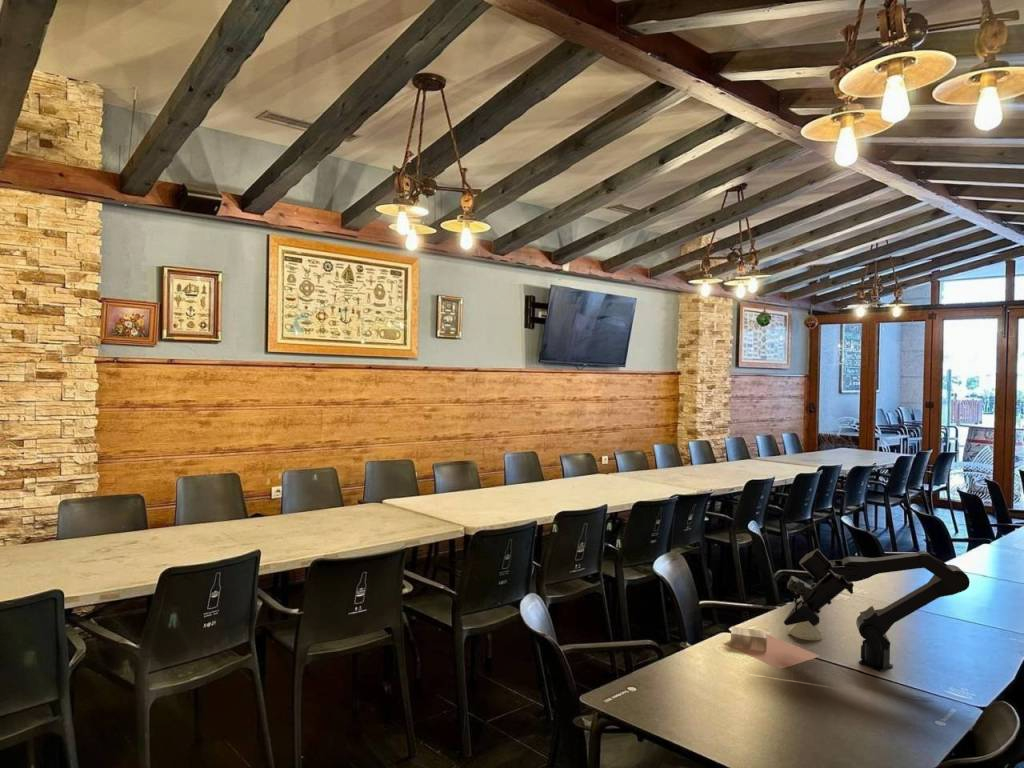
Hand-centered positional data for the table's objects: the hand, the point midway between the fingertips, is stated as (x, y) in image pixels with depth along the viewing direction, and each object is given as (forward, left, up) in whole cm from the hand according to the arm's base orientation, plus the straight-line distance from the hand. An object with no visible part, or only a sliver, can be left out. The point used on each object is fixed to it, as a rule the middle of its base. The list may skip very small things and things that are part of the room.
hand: (784, 623), depth 201 cm
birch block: (+4, +3, -6) cm, 8 cm away
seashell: (+5, -17, -9) cm, 19 cm away
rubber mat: (+2, +3, -8) cm, 9 cm away
